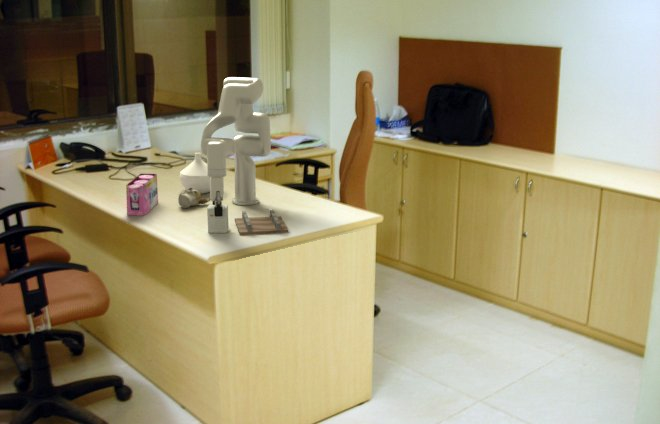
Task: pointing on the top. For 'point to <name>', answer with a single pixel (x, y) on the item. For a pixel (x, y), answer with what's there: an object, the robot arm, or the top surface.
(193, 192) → the ceramic sculpture
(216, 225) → the small box
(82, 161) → the top surface
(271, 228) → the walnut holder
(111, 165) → the top surface
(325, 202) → the top surface
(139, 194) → the gum box
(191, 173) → the vase
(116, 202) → the top surface
